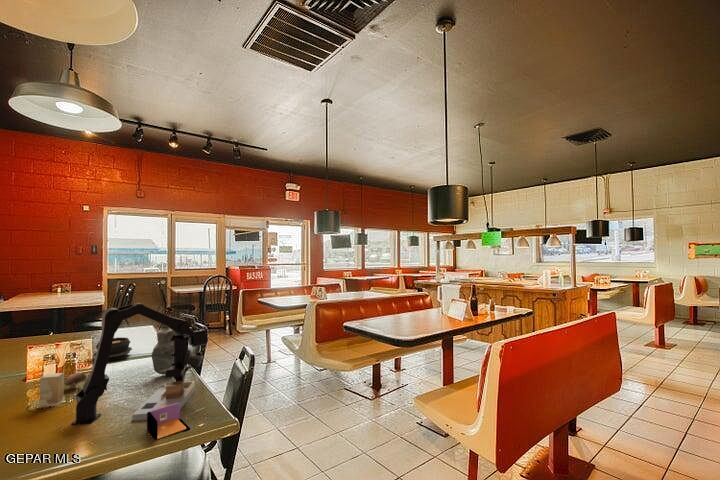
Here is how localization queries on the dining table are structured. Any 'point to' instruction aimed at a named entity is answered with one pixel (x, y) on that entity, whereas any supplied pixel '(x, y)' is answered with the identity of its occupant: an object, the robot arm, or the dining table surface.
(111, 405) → the dining table surface
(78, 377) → the mushroom
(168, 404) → the tile
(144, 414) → the deck
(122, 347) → the casserole
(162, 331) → the detergent
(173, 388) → the block
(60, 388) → the skincare box
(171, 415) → the toy room diorama
